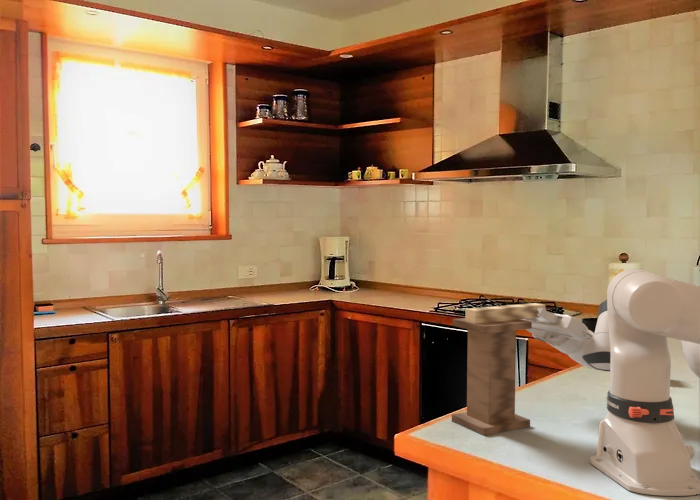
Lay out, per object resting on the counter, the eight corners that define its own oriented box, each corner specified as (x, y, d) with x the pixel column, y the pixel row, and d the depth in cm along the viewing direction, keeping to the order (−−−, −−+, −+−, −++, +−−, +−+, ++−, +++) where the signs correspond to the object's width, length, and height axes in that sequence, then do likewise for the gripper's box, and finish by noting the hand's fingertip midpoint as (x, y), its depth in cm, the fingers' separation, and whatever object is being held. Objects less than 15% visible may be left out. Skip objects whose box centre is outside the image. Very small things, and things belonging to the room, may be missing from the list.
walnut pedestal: (496, 412, 168) (497, 314, 166) (530, 426, 157) (531, 321, 156) (451, 421, 161) (452, 319, 160) (483, 435, 151) (485, 326, 149)
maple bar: (535, 314, 167) (535, 303, 167) (545, 316, 164) (545, 304, 163) (465, 321, 156) (465, 308, 156) (474, 323, 153) (474, 310, 153)
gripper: (591, 351, 159) (555, 326, 153) (530, 337, 177) (496, 314, 171) (601, 328, 161) (565, 302, 155) (540, 316, 179) (506, 293, 173)
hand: (528, 309), depth 163 cm, fingers open, 5 cm apart
